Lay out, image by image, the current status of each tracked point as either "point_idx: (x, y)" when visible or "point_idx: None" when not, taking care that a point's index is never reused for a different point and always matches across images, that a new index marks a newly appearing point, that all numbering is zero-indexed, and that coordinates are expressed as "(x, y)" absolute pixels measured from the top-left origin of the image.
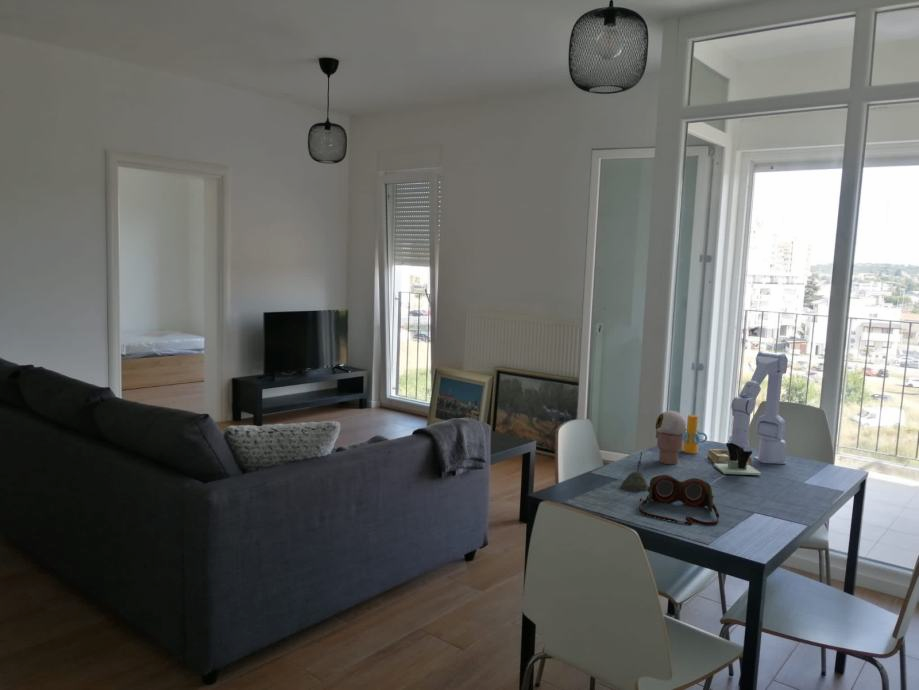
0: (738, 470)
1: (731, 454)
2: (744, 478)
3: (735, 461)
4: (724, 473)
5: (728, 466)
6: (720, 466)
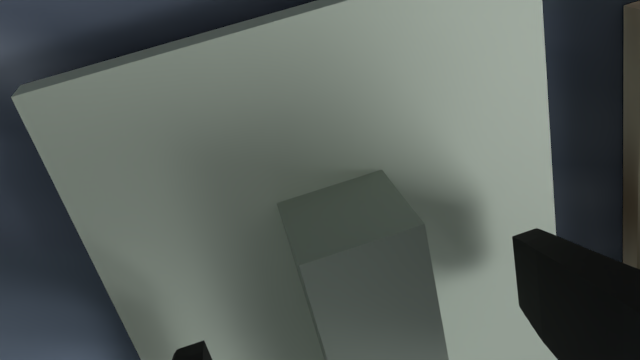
0: (227, 313)
1: (605, 317)
2: (12, 356)
3: (385, 335)
4: (19, 91)
5: (359, 184)
6: (365, 49)
